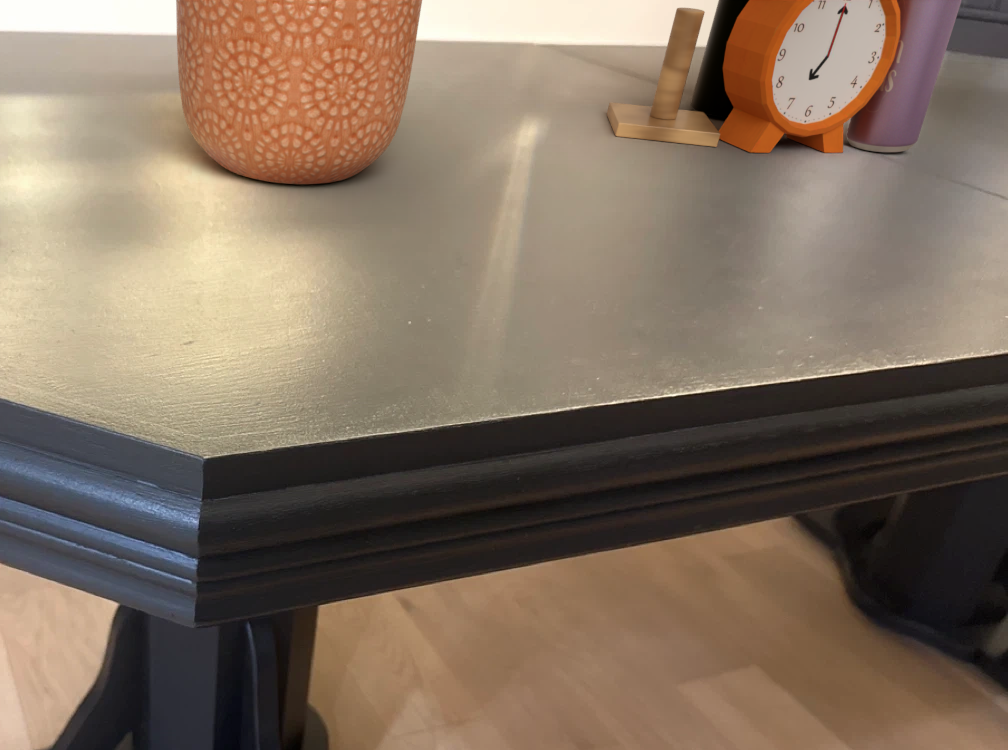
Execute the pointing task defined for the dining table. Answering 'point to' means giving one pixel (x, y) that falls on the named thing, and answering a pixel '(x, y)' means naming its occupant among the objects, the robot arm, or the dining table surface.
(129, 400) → the dining table surface
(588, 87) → the dining table surface
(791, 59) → the alarm clock
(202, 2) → the planter
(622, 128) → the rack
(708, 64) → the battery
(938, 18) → the beverage can
